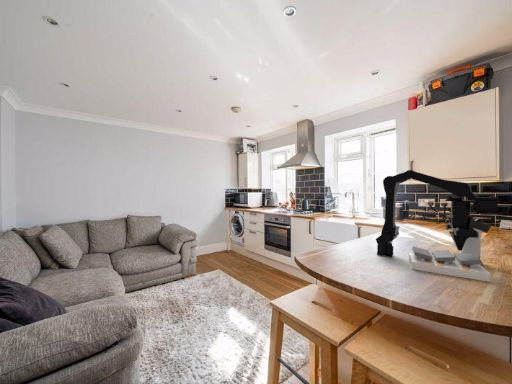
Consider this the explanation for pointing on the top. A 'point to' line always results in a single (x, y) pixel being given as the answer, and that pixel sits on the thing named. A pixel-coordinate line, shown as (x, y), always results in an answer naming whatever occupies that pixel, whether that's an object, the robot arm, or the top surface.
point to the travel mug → (473, 245)
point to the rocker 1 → (422, 253)
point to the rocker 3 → (467, 258)
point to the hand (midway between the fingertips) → (459, 250)
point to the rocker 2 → (443, 255)
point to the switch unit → (449, 268)
